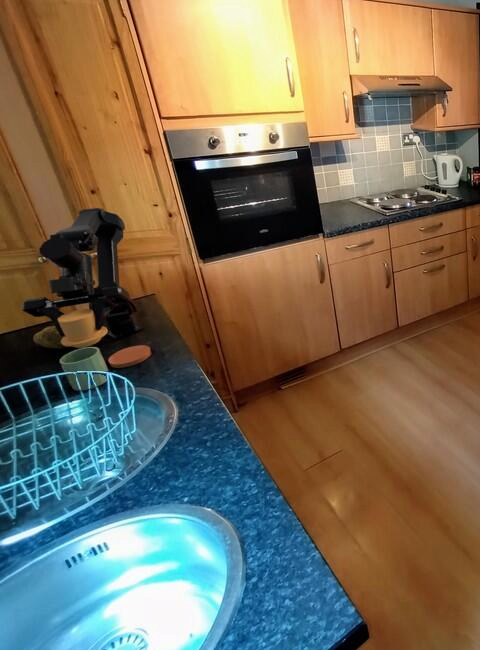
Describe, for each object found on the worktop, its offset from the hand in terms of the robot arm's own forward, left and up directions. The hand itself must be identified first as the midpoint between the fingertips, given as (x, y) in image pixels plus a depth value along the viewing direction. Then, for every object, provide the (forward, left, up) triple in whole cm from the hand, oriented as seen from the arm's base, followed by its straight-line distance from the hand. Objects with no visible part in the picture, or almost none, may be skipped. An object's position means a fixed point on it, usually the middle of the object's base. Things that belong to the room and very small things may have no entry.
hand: (80, 333), depth 110 cm
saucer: (-4, +8, -14) cm, 16 cm away
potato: (-27, +1, -14) cm, 30 cm away
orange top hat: (-1, +1, -3) cm, 4 cm away
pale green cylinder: (-1, -2, -14) cm, 14 cm away
